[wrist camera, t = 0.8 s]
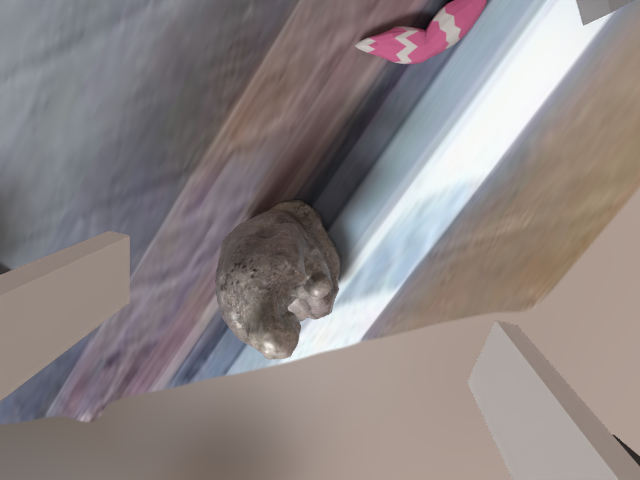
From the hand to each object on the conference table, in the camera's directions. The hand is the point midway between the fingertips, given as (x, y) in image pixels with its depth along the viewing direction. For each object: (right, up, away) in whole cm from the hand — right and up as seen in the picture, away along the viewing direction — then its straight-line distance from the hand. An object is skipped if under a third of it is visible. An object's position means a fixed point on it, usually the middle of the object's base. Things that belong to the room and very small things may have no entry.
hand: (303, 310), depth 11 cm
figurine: (-2, +1, +25) cm, 25 cm away
